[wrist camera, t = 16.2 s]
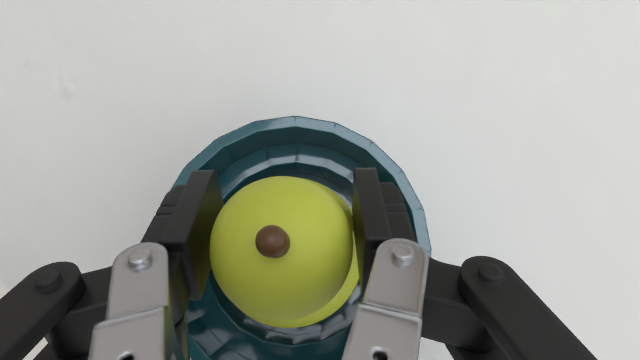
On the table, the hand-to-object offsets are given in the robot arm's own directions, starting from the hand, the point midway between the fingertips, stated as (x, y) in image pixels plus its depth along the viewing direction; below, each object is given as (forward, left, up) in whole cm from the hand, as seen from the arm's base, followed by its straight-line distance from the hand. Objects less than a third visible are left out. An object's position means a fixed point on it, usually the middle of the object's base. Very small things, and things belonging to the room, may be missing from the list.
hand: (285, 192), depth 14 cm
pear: (-1, -2, -4) cm, 5 cm away
